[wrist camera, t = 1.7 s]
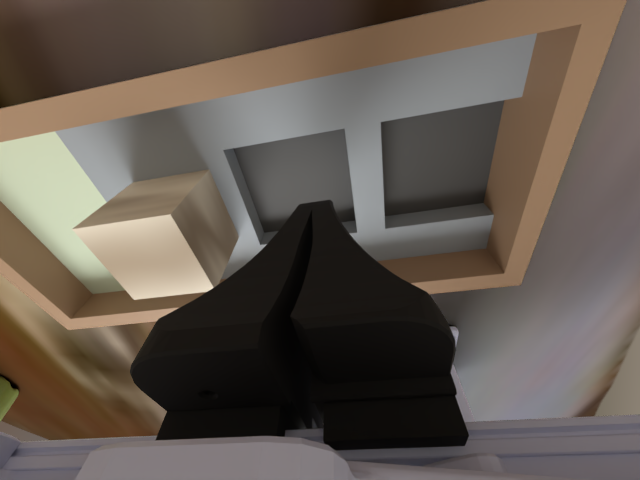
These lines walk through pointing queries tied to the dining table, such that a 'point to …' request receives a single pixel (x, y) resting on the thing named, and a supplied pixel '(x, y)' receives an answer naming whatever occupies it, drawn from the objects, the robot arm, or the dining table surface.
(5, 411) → the plant pot
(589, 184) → the dining table surface
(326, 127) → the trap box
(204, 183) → the birch cube
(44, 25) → the dining table surface
